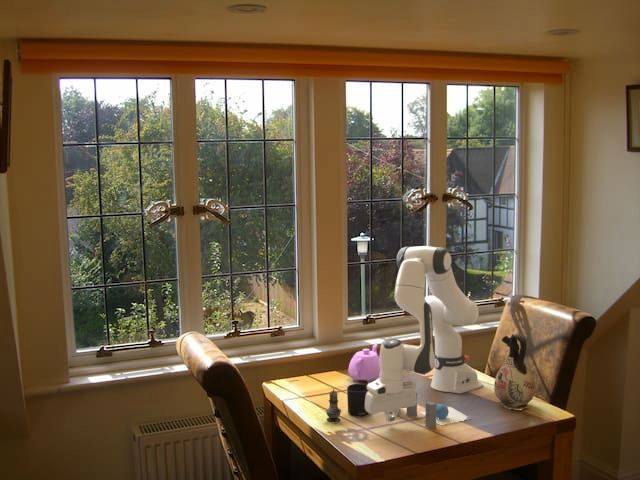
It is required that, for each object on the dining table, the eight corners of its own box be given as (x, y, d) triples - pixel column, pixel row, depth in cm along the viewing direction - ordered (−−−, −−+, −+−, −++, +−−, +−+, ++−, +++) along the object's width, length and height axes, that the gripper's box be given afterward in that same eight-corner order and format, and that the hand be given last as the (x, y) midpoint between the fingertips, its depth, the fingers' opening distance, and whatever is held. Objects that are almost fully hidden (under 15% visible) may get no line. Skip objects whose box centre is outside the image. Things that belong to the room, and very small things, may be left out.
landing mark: (449, 407, 272) (449, 406, 272) (471, 419, 260) (471, 418, 260) (419, 412, 266) (419, 412, 266) (440, 425, 254) (440, 425, 254)
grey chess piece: (325, 417, 263) (325, 386, 261) (340, 416, 263) (340, 386, 262) (326, 423, 257) (326, 391, 255) (342, 422, 257) (342, 391, 256)
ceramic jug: (485, 402, 277) (487, 329, 273) (517, 397, 283) (519, 326, 279) (512, 417, 261) (514, 340, 257) (545, 412, 267) (548, 336, 263)
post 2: (431, 425, 255) (432, 401, 253) (436, 427, 252) (436, 403, 251) (425, 426, 253) (425, 402, 252) (429, 429, 251) (429, 405, 250)
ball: (428, 413, 262) (439, 417, 264) (436, 419, 257) (447, 423, 259) (434, 399, 262) (445, 404, 264) (443, 405, 257) (453, 409, 259)
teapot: (361, 369, 320) (361, 340, 318) (392, 374, 313) (392, 344, 311) (340, 383, 300) (340, 352, 299) (373, 389, 293) (373, 357, 291)
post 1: (412, 413, 266) (413, 390, 265) (416, 415, 264) (417, 392, 262) (406, 414, 265) (406, 391, 264) (410, 416, 262) (410, 394, 261)
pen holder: (343, 415, 264) (343, 390, 263) (352, 407, 273) (352, 382, 272) (366, 419, 261) (366, 393, 259) (374, 410, 269) (375, 385, 268)
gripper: (411, 377, 258) (410, 413, 260) (362, 385, 250) (362, 422, 251) (420, 382, 253) (419, 419, 254) (371, 391, 244) (371, 428, 246)
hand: (390, 421), depth 253 cm, fingers closed
